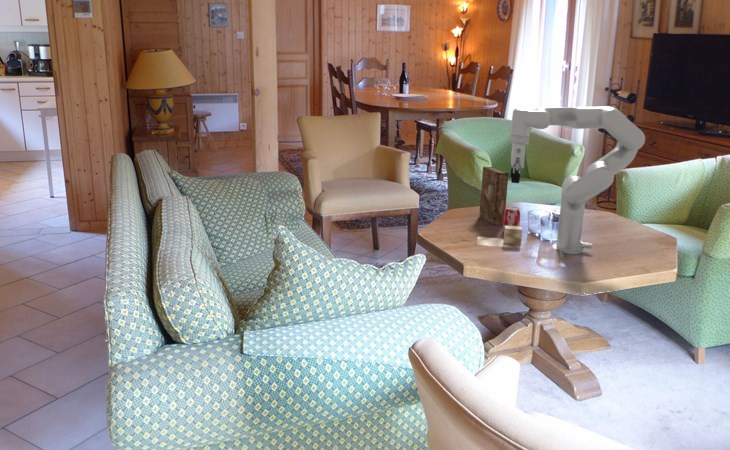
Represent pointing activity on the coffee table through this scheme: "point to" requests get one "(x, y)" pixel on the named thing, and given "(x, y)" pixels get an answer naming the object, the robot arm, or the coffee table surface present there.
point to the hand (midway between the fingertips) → (514, 180)
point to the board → (494, 242)
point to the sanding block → (512, 235)
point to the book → (493, 195)
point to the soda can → (511, 217)
